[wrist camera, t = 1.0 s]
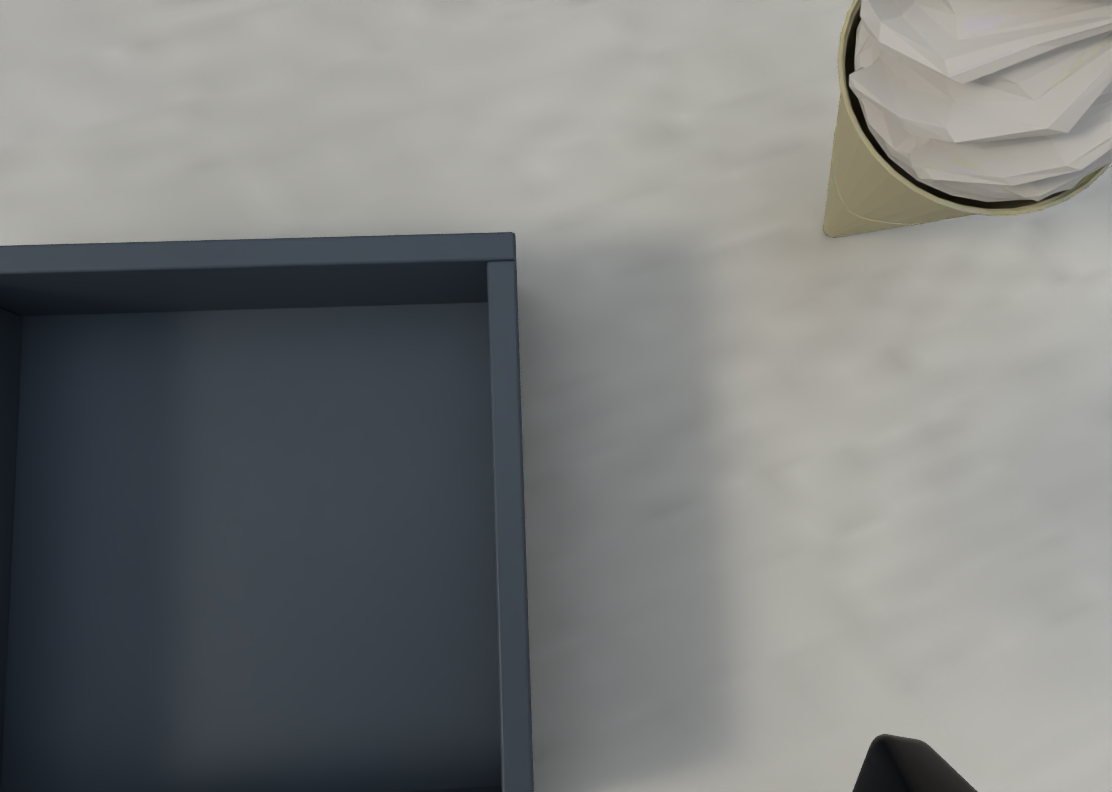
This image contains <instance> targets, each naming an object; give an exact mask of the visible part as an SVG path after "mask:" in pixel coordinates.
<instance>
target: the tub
mask: <svg viewBox="0 0 1112 792" xmlns="http://www.w3.org/2000/svg"><path fill="white" fill-rule="evenodd" d="M0 792H534V782H533V752H532V721H531V691H530V661H529V631H528V601H527V570H526V540H525V510H524V480H523V450H522V419H521V389H520V359H519V329H518V299H517V269H516V240H515V234H514V233H512V232H501V233H463V234H426V235H388V236H351V237H313V238H276V239H239V240H201V241H164V242H126V243H89V244H51V245H14V246H0Z"/></svg>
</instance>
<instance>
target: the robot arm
mask: <svg viewBox="0 0 1112 792" xmlns="http://www.w3.org/2000/svg"><path fill="white" fill-rule="evenodd" d="M853 792H977V791H976V790H975V789H974V788H973V787H972V786H971V785H970V784H969V783H968V782H967V781H966V780H965V779H964V778H963V777H962V776H961V775H959V774H958V773H957V772H956V771H955V770H954V769H953V768H952V767H951V766H950V765H949V764H948V763H947V762H946V761H945V760H944V759H943V758H942V757H941V756H940V755H939V754H938V753H937V752H935V751H934V750H933V749H932V748H931V747H930V746H929V745H928V744H926V743H925V742H923V741H921V740H917V739H912V738H906V737H900V736H894V735H888V734H882V735H879V736H877V737H876V738H875V739H874V740H873V741H872V743H871V745H870V747H869V750H868V752H867V755H866V757H865V760H864V763H863V765H862V768H861V771H860V773H859V776H858V778H857V781H856V784H855V786H854V789H853Z"/></svg>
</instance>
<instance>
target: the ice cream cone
mask: <svg viewBox="0 0 1112 792" xmlns="http://www.w3.org/2000/svg"><path fill="white" fill-rule="evenodd" d="M838 72H839V85H840V90H841V93H840V101H839V109H838V117H837V125H836V129H835V134H834V142H833V151H832V160H831V168H830V176H829V184H828V193H827V201H826V209H825V217H824V225H823V229H824V232H825V233H826V234H827V235H828V236H830V237H839V236H846V235H852V234H858V233H865V232H871V231H878V230H884V229H891V228H897V227H903V226H910V225H916V224H924V223H929V222H934V221H939V220H943V219H949V218H956V217H962V216H968V215H975V214H980V215H987V216H1003V215H1019V214H1024V213H1030V212H1035V211H1040V210H1044V209H1046V208H1049V207H1051V206H1054V205H1056V204H1059V203H1061V202H1064V201H1066V200H1068V199H1070V198H1071V197H1073V196H1074V195H1076V194H1078V193H1079V192H1081V191H1082V190H1084V189H1086V188H1087V187H1088V186H1089V185H1090V184H1092V183H1093V182H1094V181H1095V180H1096V179H1097V178H1098V177H1099V176H1100V175H1101V174H1102V173H1103V172H1104V171H1106V169H1107V168H1108V166H1109V165H1110V164H1111V162H1112V0H854V1H853V3H852V5H851V7H850V9H849V11H848V12H847V16H846V19H845V22H844V26H843V29H842V32H841V35H840V44H839V54H838Z"/></svg>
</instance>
